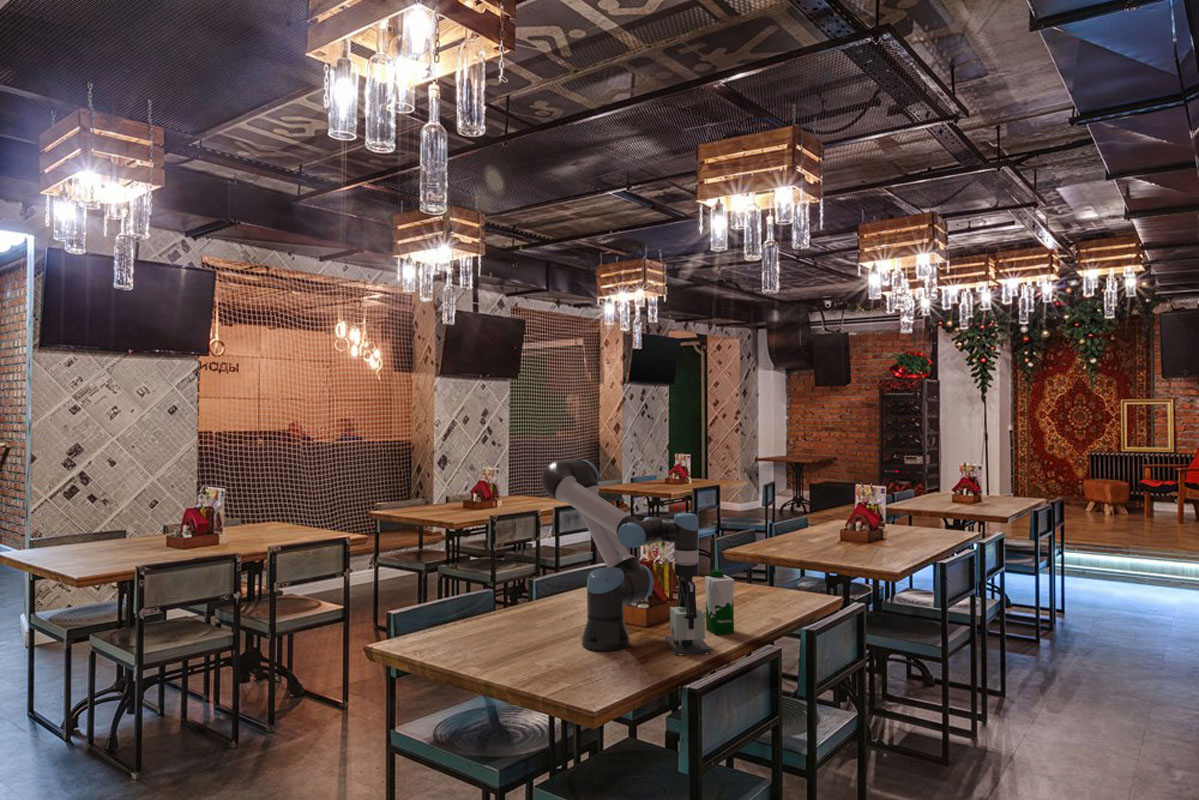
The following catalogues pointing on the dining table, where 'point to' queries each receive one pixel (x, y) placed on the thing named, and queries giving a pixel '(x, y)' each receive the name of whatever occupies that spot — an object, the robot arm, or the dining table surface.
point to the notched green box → (680, 623)
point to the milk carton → (719, 603)
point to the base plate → (687, 646)
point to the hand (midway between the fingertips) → (687, 634)
